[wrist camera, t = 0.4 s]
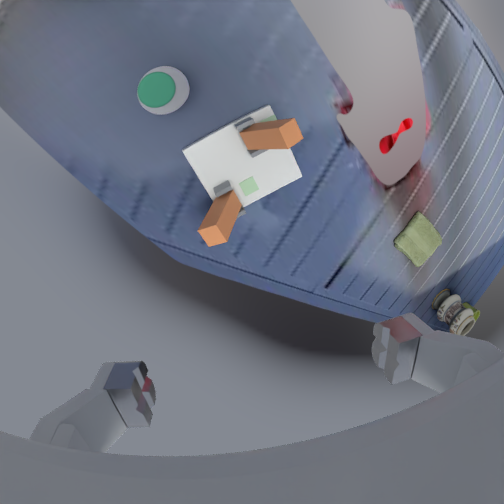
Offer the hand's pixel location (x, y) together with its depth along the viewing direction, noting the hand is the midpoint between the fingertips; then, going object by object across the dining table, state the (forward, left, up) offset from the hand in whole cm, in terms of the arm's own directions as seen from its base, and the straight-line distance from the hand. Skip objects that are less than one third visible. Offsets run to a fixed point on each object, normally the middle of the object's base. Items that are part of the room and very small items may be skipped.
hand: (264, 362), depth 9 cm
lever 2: (-3, +8, -46) cm, 47 cm away
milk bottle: (-6, -9, -50) cm, 51 cm away
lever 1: (+10, +9, -46) cm, 48 cm away
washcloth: (+6, +65, -50) cm, 83 cm away
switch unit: (+3, +9, -50) cm, 51 cm away
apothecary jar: (+24, +99, -50) cm, 114 cm away
